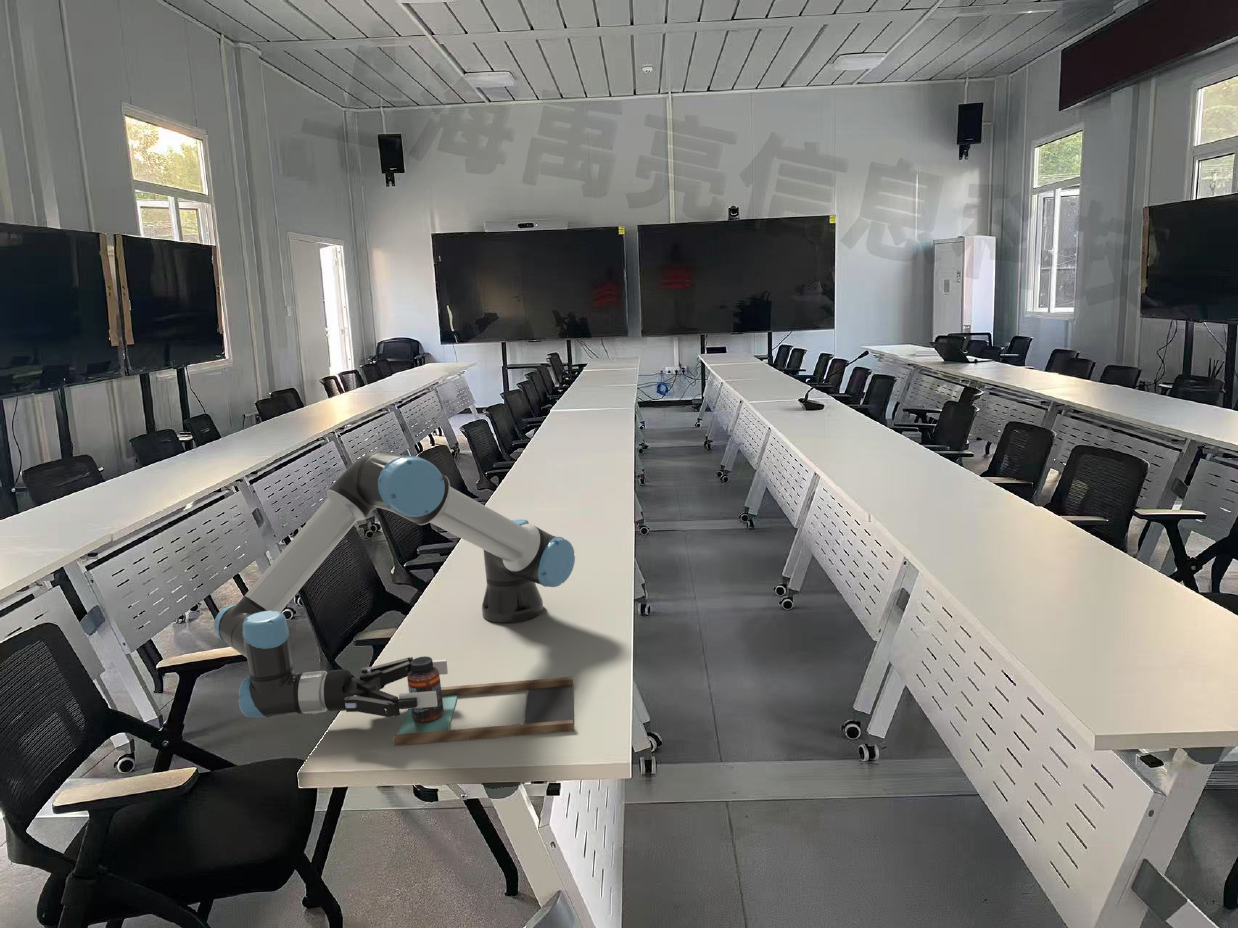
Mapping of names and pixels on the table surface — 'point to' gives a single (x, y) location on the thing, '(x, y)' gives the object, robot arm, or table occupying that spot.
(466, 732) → the channel track
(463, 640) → the table surface
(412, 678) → the supplement bottle
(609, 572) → the table surface
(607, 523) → the table surface
